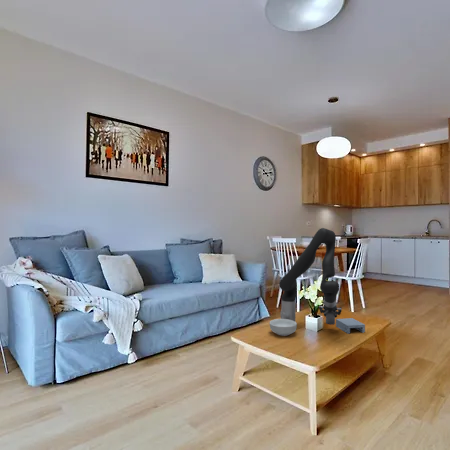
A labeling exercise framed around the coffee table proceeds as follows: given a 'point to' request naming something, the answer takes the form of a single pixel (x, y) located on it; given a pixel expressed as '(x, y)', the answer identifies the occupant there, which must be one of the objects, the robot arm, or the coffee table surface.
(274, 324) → the cereal bowl
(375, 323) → the coffee table surface
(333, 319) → the dark grey cylinder
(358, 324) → the bench shelf
